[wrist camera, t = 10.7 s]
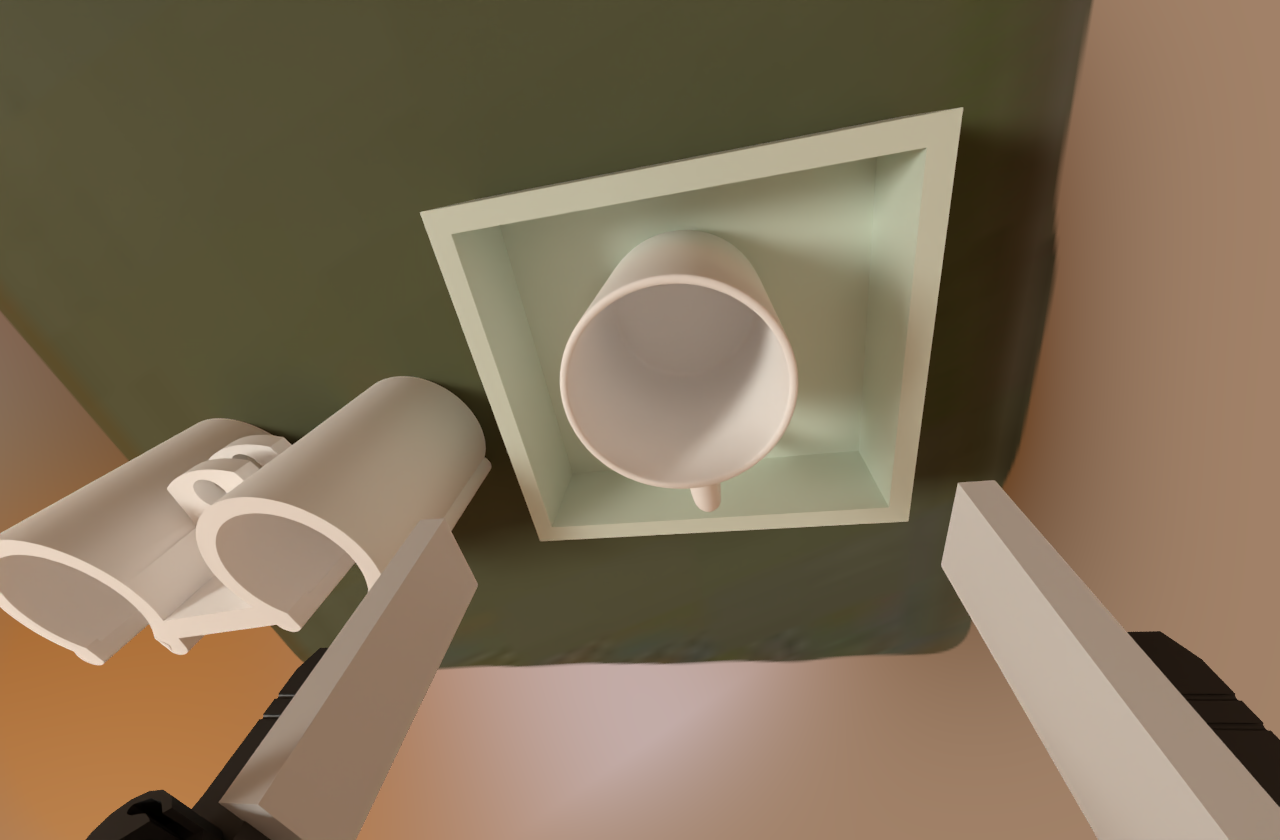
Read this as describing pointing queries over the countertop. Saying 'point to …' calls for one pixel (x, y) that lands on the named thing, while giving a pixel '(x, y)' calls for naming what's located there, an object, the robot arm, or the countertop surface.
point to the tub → (795, 283)
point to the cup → (680, 367)
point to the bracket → (241, 523)
